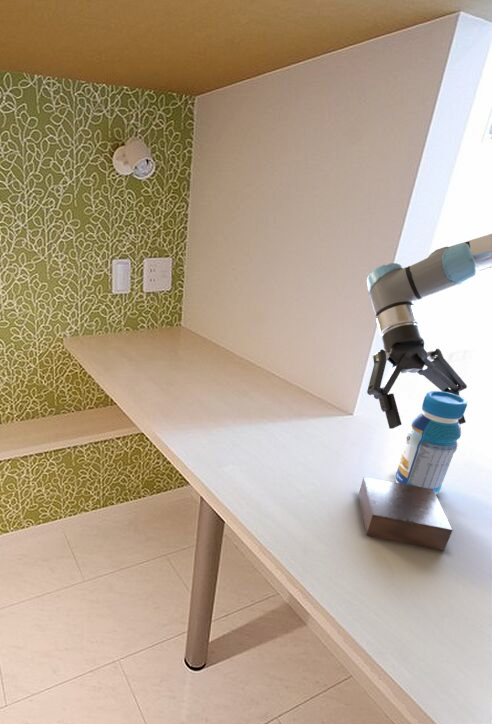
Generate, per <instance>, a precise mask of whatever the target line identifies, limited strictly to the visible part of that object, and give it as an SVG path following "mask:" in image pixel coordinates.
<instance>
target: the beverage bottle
mask: <svg viewBox="0 0 492 724" xmlns="http://www.w3.org/2000/svg"><path fill="white" fill-rule="evenodd" d="M467 406H468V400H467V399H466V398H465V397H463V396H461V395H460V396H458V395H456V394H452V393H448V392H442V391H441V390H432V391H428V392H427V393H426V394H425V395H424V399H423V401H422V405H421V410H422V412H420V413H419V414H418V415H417V416H416V417H415V418H414V419H413V420H412V422H411V429H410V430H409V431H408V432H407V435H406V441H405V444H404V448H403V450H402V454H401V457H400V461H399V463H398V467H397V470H396V473H395V476H394V479H395V483H400V484H406V485H412V486H418V487H424V488H429V489H433V490H434V492H435V494H436V495H437V494H438V493H440V491H441V488H442V485H443V482H444V480H445V477H446V474H447V472H448V469H449V467H450V464H451V462H452V459H453V456H454V455H455V453H456V451H457V449H458V440H459V439H460V438H461V436H462V429H461V428H462V427H461V424H459V421H458V420H459V419H461V418H462V416H463V415H464V414H465V412H466V409H467Z"/></svg>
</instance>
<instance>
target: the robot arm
mask: <svg viewBox="0 0 492 724" xmlns="http://www.w3.org/2000/svg"><path fill="white" fill-rule="evenodd" d="M489 271H492V233H490V234H487V235H483V236H480V237H477V238H474V239H471V240H468V241H464V242H461V243H456V244H454V245H450V246H443V247H440V248H438V249H435V250H434V251H433V252H431V253H430V254H429V255H428V257H426V258H424V259H422V260H420V261H418V262H416V263H414V264H412V265H408V266H407V267H406V266H405V267H403V265H401V264H400V263H396V262H391V263H388V264H382V265H379V266H378V267H376V268H374V269H373V270H371V271H370V273H369V274H368V276H367V278H366V284H367V290H368V296H369V299H370V302H371V306H372V309H373V312H374V315H375V319H376V323H377V327H378V331H379V335H380V336H381V342H382V346H383V349H380V350H379V351H377V352H376V353H375V354H374V355H372V358H373V367H372V370H371V375H370V379H369V383H368V385H367V386H368V387H367V389H366V393H367V395H369V396H372V395H373V398H374V399H375V400H378V401H379V405H380V409H381V412H382V413H385V416H386V421H387V424H388V429H392V430H393V429H395V428H397V427H399V426H401V425H403V424H402V420H401V417H400V413H399V409H398V406H397V402H396V398H395V394H394V393H390V391H391V389H392V387H393V386H394V384H395V383H396V381H397V379H398V377H399V375H400V374H407V373H410V374H416V373H417V374H418V375H421V376H423V377H425V378H426V379H427V380H428V381H429V382H430V383H431V384H433V385H434V386H435V387H436V388H437V389H439V391H442V392H448V393H452V394H456V395H458V396H461V395H460V392H461V391H464V390H465V389H467V388H468V385H467V384H466V383H465V381H464V380H463V379H462V377H460V376H459V374H458V373H457V372H456V371H455V369H454V368H453V367H452V366H451V364H449V362H448V360H446V359H445V358H444V356H443V353H442V351H441V349H440V348H436V349H434V350H431V351H427V350H426V348H425V341H426V339H425V337H424V333H423V330H422V327H421V325H420V324H421V323H420V321H419V317H418V314H417V310H416V307H415V305H414V302H417V301H419V300H422V299H423V298H426V297H429V296H431V295H434V294H436V293H439V292H441V291H444V290H447V289H450V288H452V287H455V286H457V285H458V286H460V285H462V284H463V283H465V282H467V281H470V280H472V279H474V278H476V277H477V276H478V274H481V273H485V272H489ZM387 361H388V362H389V363H390V364H391V366H390V367H389V369H388V372H387V375H386V376H385V378H384V380H383V377H384V373H385V369H386V366H387ZM458 421H459V424H460V425H462V424H465V423H466V419H465V415H464V414H463V416H462V418H461V419H459V420H458Z"/></svg>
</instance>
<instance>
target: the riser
mask: <svg viewBox="0 0 492 724" xmlns="http://www.w3.org/2000/svg"><path fill="white" fill-rule="evenodd" d="M362 478H363V479H362V482H361V485H360V488H359V493H358V495H357V496H358V501H359V506H360V510H361V515H362V519H363V524H364V529H365V535H366V536H370V537H376V538H379V539H384V540H389V541H393V542H399V543H405V544H409V545H413V546H419V547H424V548H428V549H434V550H438V551H442V552H443V551H445V550H446V547H447V545H448V543H449V540H450V537H451V535H452V533H453V531H454V530H453V528H452V526H451V524H450V521H449V520H448V517H447V515H446V513H445V510H444V508H443V507H442V505H441V502H440V500H439V498H438V496H437V494H435V492H434V490H433V489H429V488H424V487H418V486H412V485H406V484H400V483H397V482H396V481H395V482H393V481H389V480H388V481H387V480H383V479H377V478H370V477H365V476H364V477H362Z"/></svg>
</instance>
